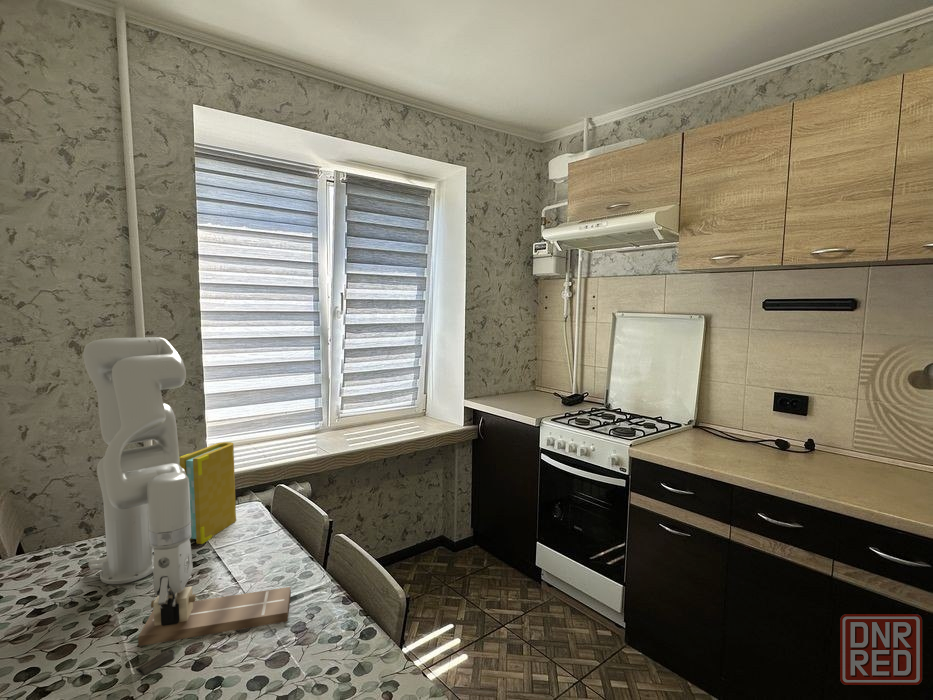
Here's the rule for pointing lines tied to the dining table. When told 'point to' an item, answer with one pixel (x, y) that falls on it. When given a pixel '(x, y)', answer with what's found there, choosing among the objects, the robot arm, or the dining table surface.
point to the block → (156, 662)
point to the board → (223, 616)
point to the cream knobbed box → (183, 599)
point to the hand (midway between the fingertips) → (174, 615)
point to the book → (211, 489)
